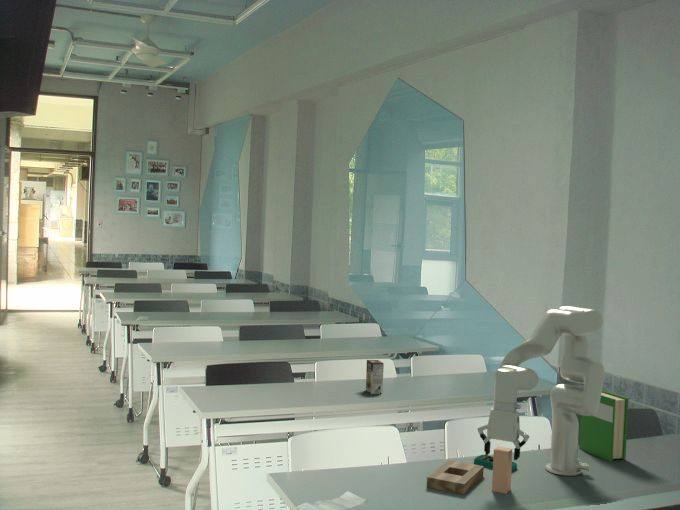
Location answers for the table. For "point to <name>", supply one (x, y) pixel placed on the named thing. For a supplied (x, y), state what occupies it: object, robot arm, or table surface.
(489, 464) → the digital multimeter
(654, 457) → the table surface
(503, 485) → the square peg
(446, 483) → the wooden peg hole block
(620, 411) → the hardback book
